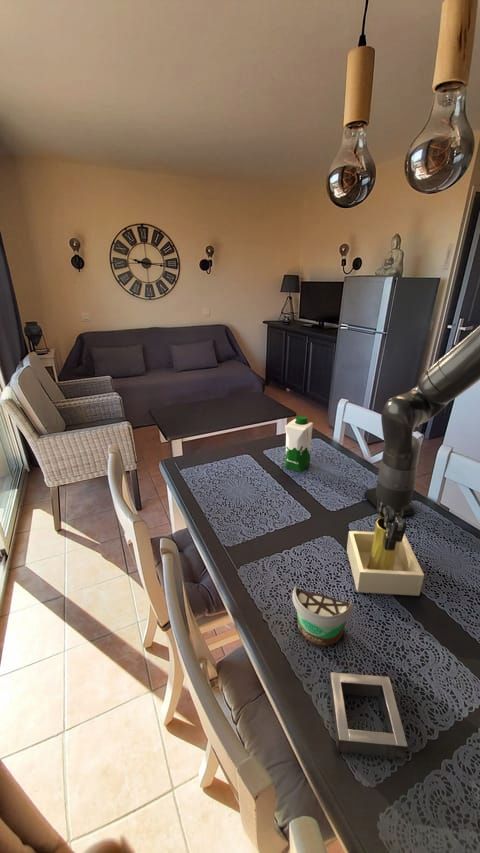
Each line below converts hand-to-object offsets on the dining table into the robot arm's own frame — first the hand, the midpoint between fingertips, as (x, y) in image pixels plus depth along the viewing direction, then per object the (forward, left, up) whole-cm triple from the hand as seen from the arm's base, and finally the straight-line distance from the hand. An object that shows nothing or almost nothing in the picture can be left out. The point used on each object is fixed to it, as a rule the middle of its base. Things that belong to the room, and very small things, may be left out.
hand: (385, 540), depth 86 cm
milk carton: (+18, -51, -11) cm, 55 cm away
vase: (0, 0, -10) cm, 10 cm away
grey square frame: (+11, +33, -10) cm, 36 cm away
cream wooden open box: (0, 0, -10) cm, 10 cm away
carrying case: (-9, -28, -11) cm, 31 cm away
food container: (+17, +19, -11) cm, 28 cm away
